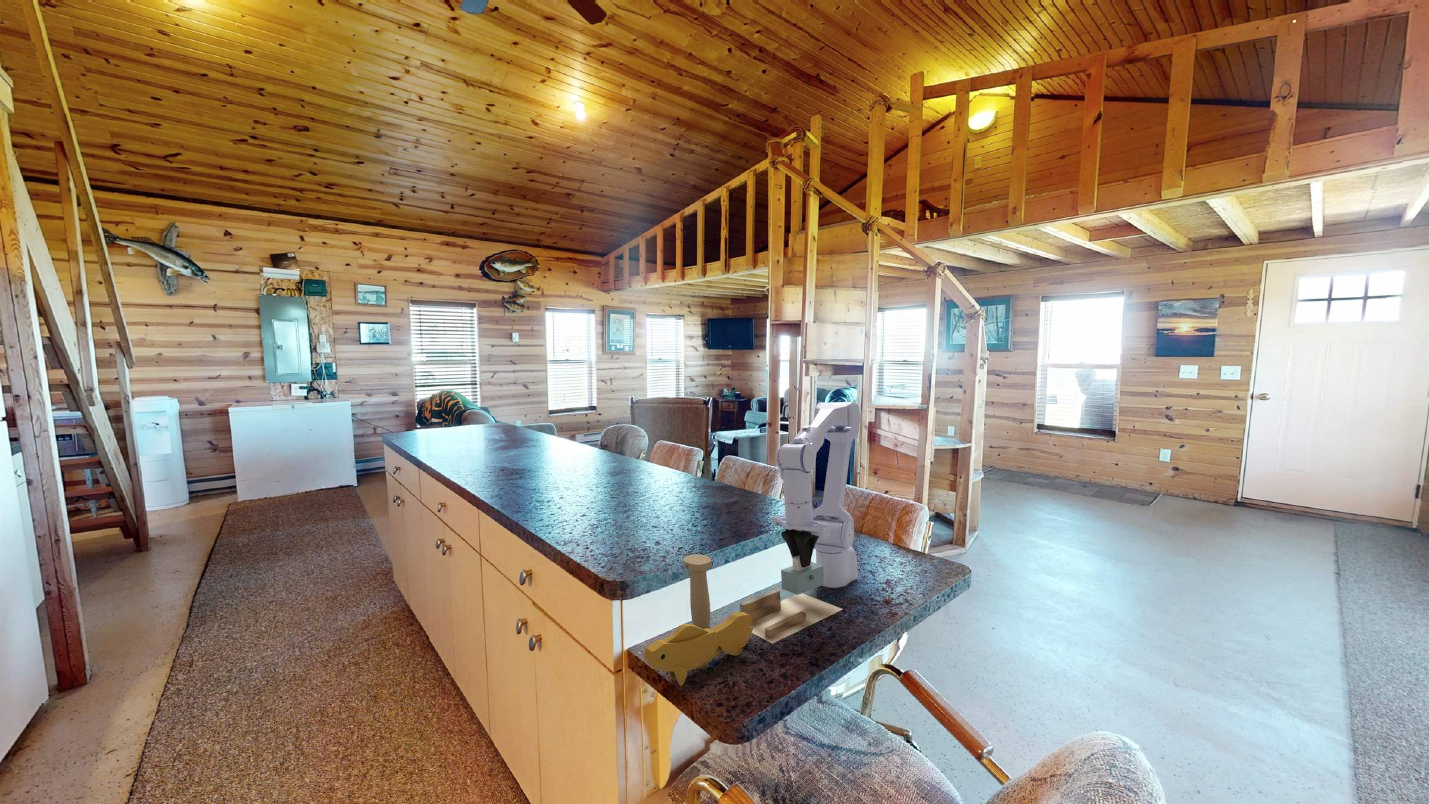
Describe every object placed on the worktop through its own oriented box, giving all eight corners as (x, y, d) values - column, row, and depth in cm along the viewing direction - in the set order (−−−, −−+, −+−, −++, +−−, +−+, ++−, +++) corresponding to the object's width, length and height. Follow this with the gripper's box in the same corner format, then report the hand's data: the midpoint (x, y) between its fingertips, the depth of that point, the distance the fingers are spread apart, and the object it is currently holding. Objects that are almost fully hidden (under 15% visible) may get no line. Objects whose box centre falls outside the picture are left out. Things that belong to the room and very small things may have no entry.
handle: (700, 643, 99) (695, 566, 99) (683, 631, 105) (678, 558, 104) (721, 635, 102) (716, 560, 102) (703, 624, 107) (698, 552, 107)
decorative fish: (648, 694, 82) (656, 628, 83) (638, 686, 84) (646, 622, 85) (751, 671, 96) (757, 615, 97) (740, 664, 98) (746, 610, 99)
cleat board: (800, 596, 117) (799, 575, 117) (843, 613, 108) (841, 590, 108) (731, 626, 105) (730, 602, 105) (772, 648, 96) (771, 622, 96)
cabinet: (808, 578, 113) (806, 549, 113) (827, 585, 109) (825, 554, 109) (781, 588, 109) (780, 558, 109) (800, 596, 104) (798, 564, 104)
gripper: (760, 499, 112) (764, 561, 113) (811, 510, 100) (815, 579, 101) (784, 493, 116) (787, 553, 117) (835, 503, 105) (838, 569, 105)
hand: (802, 564), depth 109 cm, fingers closed on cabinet
